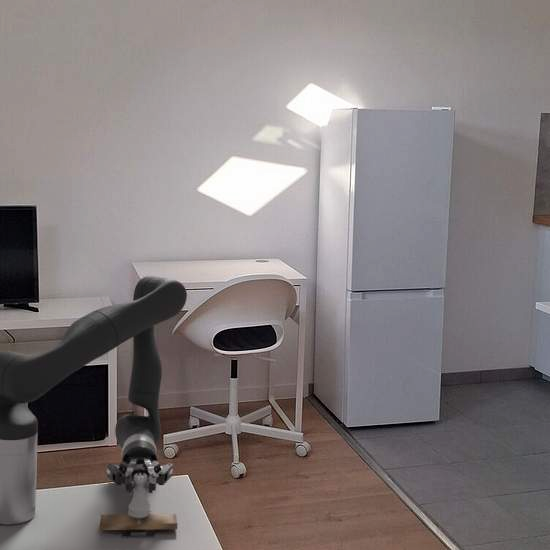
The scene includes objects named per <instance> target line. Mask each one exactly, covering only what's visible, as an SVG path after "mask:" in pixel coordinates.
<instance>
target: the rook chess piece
mask: <svg viewBox="0 0 550 550" xmlns="http://www.w3.org/2000/svg"><path fill="white" fill-rule="evenodd" d="M132 481H133V484H134V485H132V490H133V493H132V494H133V495H132V499H131V500H130V504H128V511H127V514H129V515H130V516H131V517H133V518H144V517H147V516H148V515H149V514H151V510H150V509H151V505H150V503H149V500H148V498H147V497H148V496H147V489H148V484H147V482H148V481H149V479H148V478H147V475H146V474H143V475H141V473H139V475H138V474H135V475H134V478H133V479H132Z"/></svg>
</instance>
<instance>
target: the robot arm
mask: <svg viewBox="0 0 550 550" xmlns="http://www.w3.org/2000/svg"><path fill="white" fill-rule="evenodd" d="M187 294H188V292H187V290H186V287H185V285H184V284H182V283H181V282H180V281H178V280H177V279H174V278H170V277H161V276H154V275H147V276H143V277H142V278H140V280H139V281H137V283H136V285H135V288H134V291H133V299H132V300H131V301H126V302H122V303H118V304H113V305H108V306H105V307H104V306H103V307H100V308H99V309H96V310H93V311H91V312H90V313H88V314H86V315H84V316H82V317H80V318H79V319H77V320H75V321H74V322H73V323H72V324H71V325H70V326H69V327H68V328H67V330H66V332H64V335H63V336H62V339H61V340H60V342H58V343H57V344H56V345H54V346H53V347H51V348H49V349H47V350H45V351H43V352H40V353H38V354H36V355H27V354H23V353H20V352H15V351H12V350H3V351H0V525H8V526H9V525H17V524H23V523H26V522H28V521H30V520H32V519H33V518H34V517H35V516H36V504H37V503H36V501H37V499H36V497H37V470H38V469H37V465H38V462H37V460H38V434H39V433H38V430H39V423H38V422H39V421H38V418H37V417H36V415H34V414H33V412H32V411H31V410H30V409H29V407H28V405H27V404H28V403H31V402H34V401H36V400H38V399H39V398H40V397H42V396H44V395H46V394H47V392H49V391H50V390H51V389H52V388H53V389H54V387H55V386H56V385H58V384H59V383H60V382H62V381H64V380H65V379H66V378H67V377H69V376H70V375H71V374H73V373H75V372H77V371H79V370H80V369H82V368H83V367H85V366H86V365H88V364H89V363H91V362H93V361H94V360H97V359H99V358H101V357H103V356H104V355H106V354H107V353H109V352H111V351H113V350H114V349H115V348H117V347H119V346H120V345H122V344H123V343H125V342H126V341H127V342H128V341H129V340H130V339H132V338H133V339H132V340H133V343H132V344H133V351H132V352H133V355H132V357H133V358H132V366H131V367H132V368H131V376H130V381H129V389H128V396H127V399H128V402H129V403H130V404H133V405H135V406H137V407H141V408H143V409H145V410H146V411H147V413H148V414H147V415H148V416H147V415H137V414H124V415H122V416H120V417H119V418H118V420H117V421H116V424H115V429H114V434H115V439H116V441H117V443H118V445H119V446H120V448H121V456H120V459H121V462H120V463H119V464H118V465H117V464H114V463H112V462H109V463H107V465H106V477H107V478H108V479H109V480H110V481H111V482H112V483H113V484H114V485H116V486H122V485H124V491H125V492H126V491H127V493H128V494H133V484H134V483H133V481H132V479H133V478H134V475H135V474H138V475H139V473H141V475H143V474H146V475H147V478H148V479H149V481H148V482H147V484H146V485H147V489H148V491H147V492H148V494H153V492H154V491H156V490H157V484H158V486H164V485H165V484H166V483H168V481H169V480H170V479H171V478H172V477H173V469H174V468H173V467H174V465H173V464H172V463H166V465H165V464H164V465H161V463H160V462H159V460H158V451H157V450H158V449H157V445H158V444H159V443H160V441H161V438H162V426H161V421H160V420H161V419H160V411H159V410H160V409H159V398H160V393H161V392H160V391H161V385H162V377H163V376H162V374H163V369H162V361H161V358H160V354H159V351H158V347H157V342H156V340H155V339H156V338H155V326H156V325H159V324H161V323H163V322H165V321H168V320H170V319H172V318H174V317H176V316H177V315H179V313H180V312H181V311H182V310H183V309H184V307H185V305H186V301H187V299H188V298H187V297H188V295H187Z"/></svg>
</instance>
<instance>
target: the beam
mask: <svg viewBox="0 0 550 550" xmlns="http://www.w3.org/2000/svg"><path fill="white" fill-rule="evenodd" d="M98 527H99V528H98V529H99V531H123V530H152V529H154V530H178V518H177V513H150V514H149V515H148V516H147V517H144V518H133V517H131V516H130V515H129V514H128V513H127V514H125V513H124V514H123V513H122V514H121V513H119V514H115V513H114V514H111V513H109V514H100V515H99V526H98Z"/></svg>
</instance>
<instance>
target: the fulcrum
mask: <svg viewBox="0 0 550 550" xmlns="http://www.w3.org/2000/svg"><path fill="white" fill-rule="evenodd" d="M124 536H125V537H124ZM131 536H133V537H131ZM134 536H135V537H134ZM122 538H155V529H152V530H122Z"/></svg>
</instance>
